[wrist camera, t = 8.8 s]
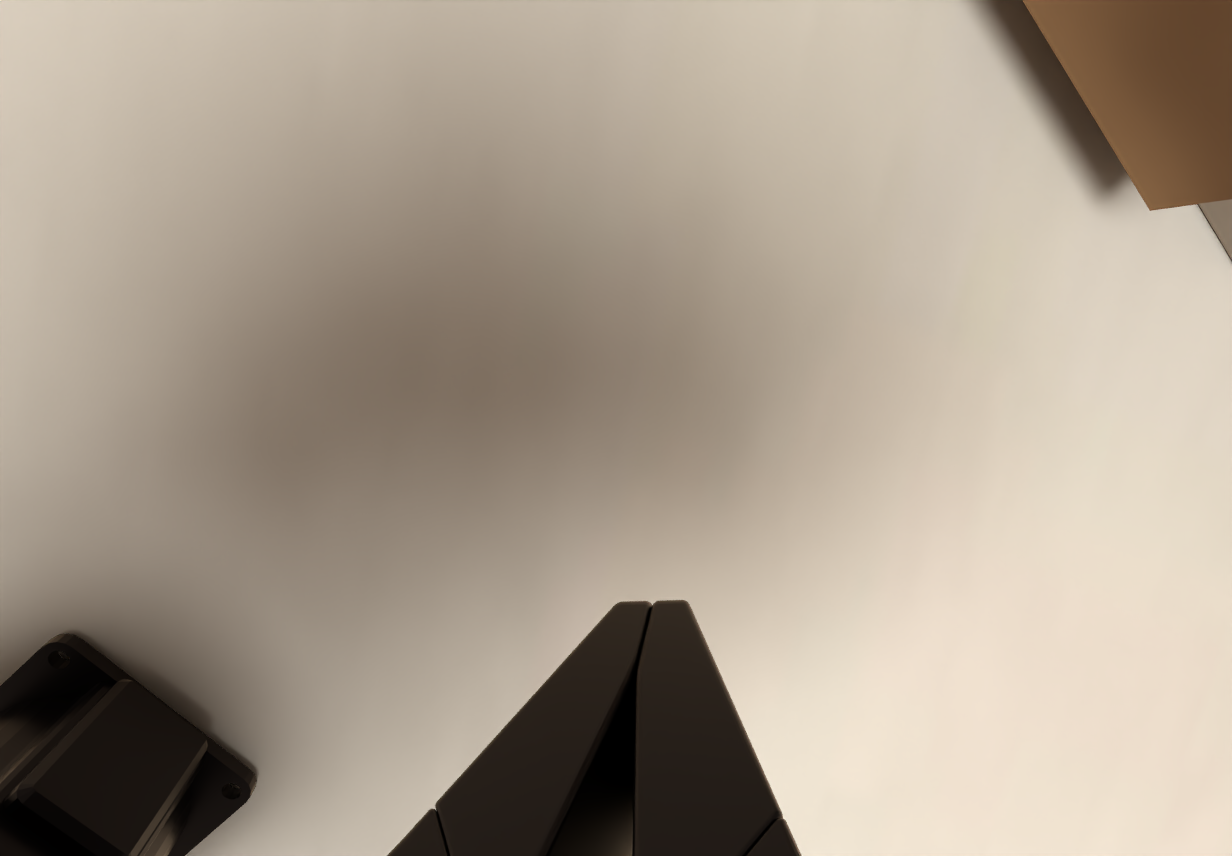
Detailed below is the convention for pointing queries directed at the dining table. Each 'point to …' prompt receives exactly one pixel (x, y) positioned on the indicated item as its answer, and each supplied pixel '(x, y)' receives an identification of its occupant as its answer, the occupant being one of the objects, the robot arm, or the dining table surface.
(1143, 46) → the walnut block
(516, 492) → the dining table surface
